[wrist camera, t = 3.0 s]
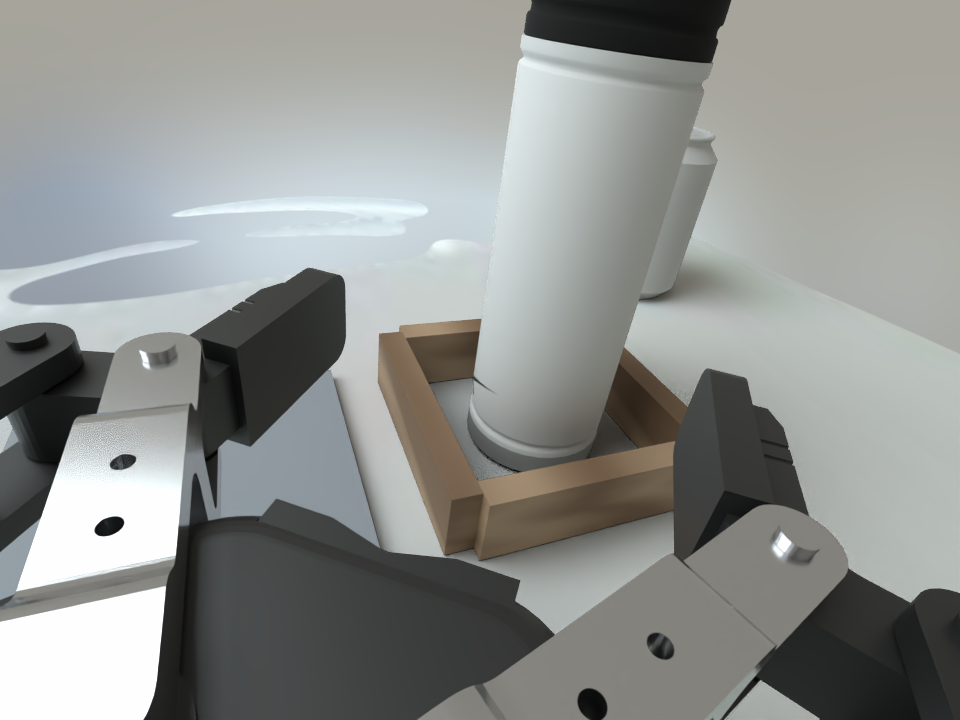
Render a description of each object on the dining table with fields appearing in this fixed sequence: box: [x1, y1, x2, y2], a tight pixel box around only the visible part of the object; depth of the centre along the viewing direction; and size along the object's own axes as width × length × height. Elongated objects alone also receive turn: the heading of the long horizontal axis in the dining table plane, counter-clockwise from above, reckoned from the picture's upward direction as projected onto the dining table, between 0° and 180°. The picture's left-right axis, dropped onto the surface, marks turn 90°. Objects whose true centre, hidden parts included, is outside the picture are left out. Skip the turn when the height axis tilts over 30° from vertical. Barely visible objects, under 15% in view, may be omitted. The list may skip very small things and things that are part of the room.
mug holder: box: [378, 319, 688, 561], centre depth 26 cm, size 12×12×3 cm
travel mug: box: [467, 0, 731, 472], centre depth 21 cm, size 6×7×20 cm
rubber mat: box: [0, 370, 380, 600], centre depth 21 cm, size 13×13×1 cm
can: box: [639, 126, 717, 299], centre depth 41 cm, size 8×8×12 cm
